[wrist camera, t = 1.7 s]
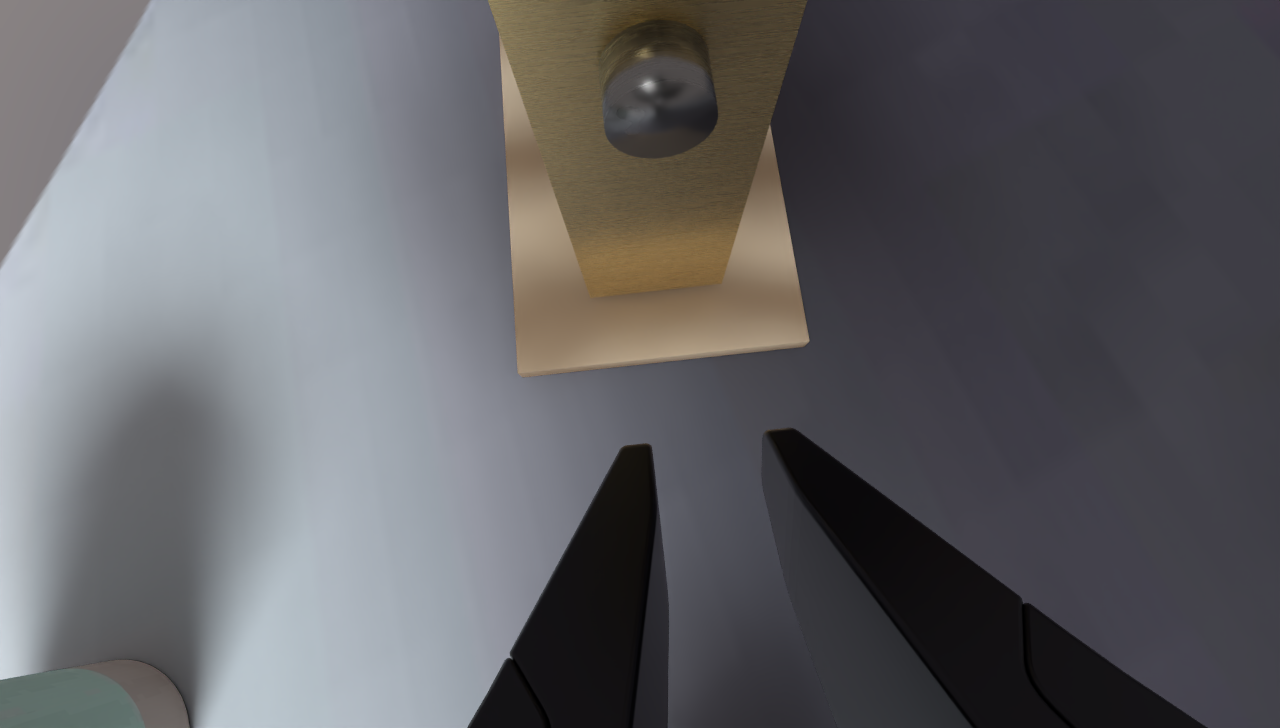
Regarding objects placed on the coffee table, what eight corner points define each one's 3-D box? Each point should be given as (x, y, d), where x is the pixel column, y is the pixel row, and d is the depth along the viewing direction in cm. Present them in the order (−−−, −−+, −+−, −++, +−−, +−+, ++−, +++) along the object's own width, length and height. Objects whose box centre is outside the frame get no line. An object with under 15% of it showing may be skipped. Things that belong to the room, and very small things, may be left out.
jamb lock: (804, 346, 22) (904, 245, 13) (522, 377, 22) (430, 297, 13) (741, 0, 25) (786, -261, 17) (503, 27, 25) (421, -219, 17)
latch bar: (726, 313, 21) (857, -35, 7) (593, 328, 21) (468, 9, 7) (704, 166, 22) (778, -359, 9) (579, 180, 22) (455, -321, 9)
